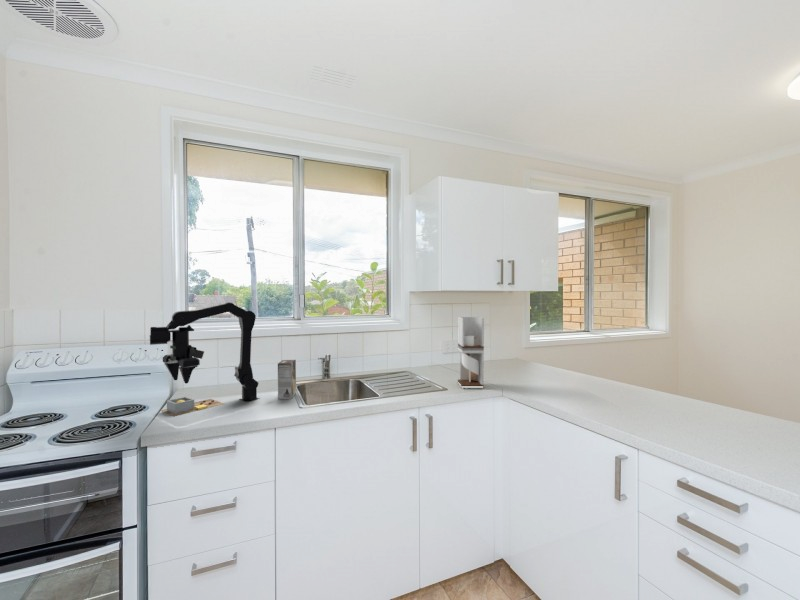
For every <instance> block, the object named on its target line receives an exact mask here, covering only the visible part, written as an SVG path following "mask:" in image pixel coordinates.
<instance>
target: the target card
mask: <svg viewBox="0 0 800 600" xmlns="http://www.w3.org/2000/svg"><path fill="white" fill-rule="evenodd" d="M205 408H206V409H209V408H208V406H207V405H204V404H203V405H198V406H194V409H197V410H198V411H202V410H205ZM201 409H202V410H201Z"/></svg>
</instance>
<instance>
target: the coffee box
mask: <svg viewBox="0 0 800 600" xmlns="http://www.w3.org/2000/svg"><path fill="white" fill-rule="evenodd" d="M296 369H297V365H296V359H282V360H281V361H280V362H278V363H277V399H278V400H287V399H289V400H291V399H293V398H294V396H295V395H296V394H295V393H297V381H296V380H297V374H296V373H297V372H296V371H297V370H296Z"/></svg>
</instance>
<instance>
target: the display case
mask: <svg viewBox="0 0 800 600" xmlns="http://www.w3.org/2000/svg"><path fill="white" fill-rule="evenodd" d="M484 340H485V318H484V317H479V316H458V317H457V350H458V351H459V379H457V383H458V382H459V383H460V384H461V386H485V385H484V384H485V383H484V382H485V381H484V374H485V373H484V372H485V371H484V367H485V364H484V361H485V360H484V359H485V357H484V355H485V353H484V352H485V345H484V343H485V341H484Z"/></svg>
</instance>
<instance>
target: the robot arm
mask: <svg viewBox="0 0 800 600" xmlns="http://www.w3.org/2000/svg"><path fill="white" fill-rule="evenodd" d="M225 313H230V314H232V315H233V316H234V317H236V318H238V325H239V328H240V350H239V351H240V352H239V364H238V366H235V367H234V371H235V372H234V375H233V376H234V377H235V379H236V380H237V381H238V383H239V384H241V398H239V401H242V402H246V403H248V402H252V401H256V400H261V399H260V398H259V397H257V396H258V394H257V392H258V391H257V389H258V387H259V381H257V380H256V379H254V374H253V373H254V372H253V369H252V365H251V358H252V357H251V354H252V353H251V352H252V348H251V347H252V332H253V329H254V326H255V323H256V319H257V318H256V317H257V316H256V313H254V312H253V311H252V310H246V309H244V308H241V307H240V306H237V305H236V304H234V303H233V302H225V303H223V304H222V303H221V304H218V305H213V306H209V307H208V306H207V307H203V308H200V309H193V310H192V309H191V310H180V311H176V312H174V313H173V314H172V315H171V320H170V322H169V323H168V324H167V325H166V326H151V327H150V331H149V332H150V334H149V345H150V346H154V345H165V344H166V345H167V344H168V343H169V342H170V341H171V340H172V341H171V342H172V343H171V345H170V349H172V354H164V356H162V363H163V364H164V365H165V367H166V369H167V370H168V372H169V373H170V375H171V377H172V379H173V381H178V377H179V372H180V375H181V377H182V380H183V382H184V383H185V384H189V381H190V379H191V375H192V373H193V371H194V369H196V368H198V366H200V363H201V361H200V360H201V359H203V357H204V355H205V351H204V350H200V349H197V347H195V346H192V344H190V338H189V336H190V332H194V331H195V329H194V328H193V327H192V326H191V325H190V324H192V323H194V322H196V321H198V320H201V319H206V318H209V317H213V316H217V315H222V314H225ZM177 328H178V329H177ZM171 333H172V334H171ZM171 335H172V336H171ZM171 337H172V338H171Z"/></svg>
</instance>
